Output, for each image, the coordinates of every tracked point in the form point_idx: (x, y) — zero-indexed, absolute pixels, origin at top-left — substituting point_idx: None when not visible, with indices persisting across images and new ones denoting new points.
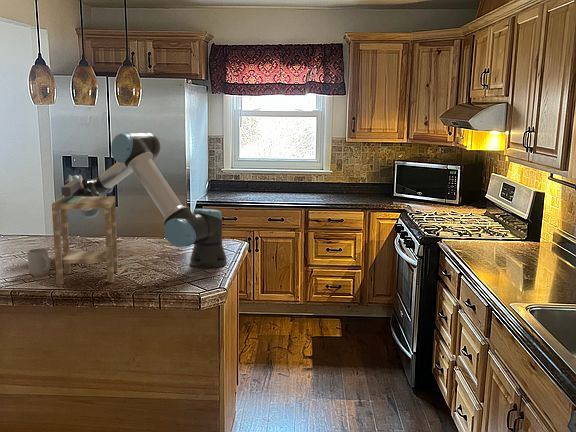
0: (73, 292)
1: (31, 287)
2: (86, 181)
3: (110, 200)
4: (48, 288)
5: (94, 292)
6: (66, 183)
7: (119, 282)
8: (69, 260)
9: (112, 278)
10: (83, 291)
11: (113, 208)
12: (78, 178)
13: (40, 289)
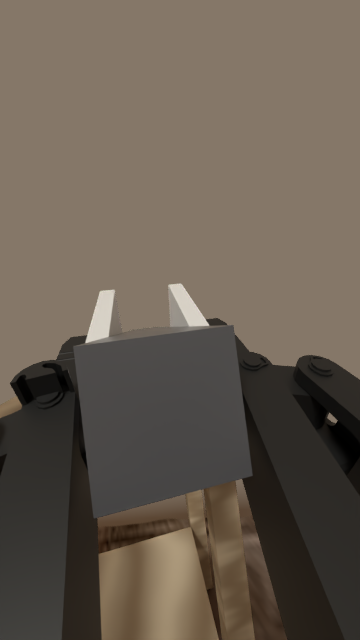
0: (151, 522)
1: (252, 538)
2: (34, 386)
3: (9, 401)
4: None
5: (112, 528)
6: (294, 367)
7: None
8: (172, 534)
9: None
10: (133, 531)
11: None
12: (160, 333)
13: None
